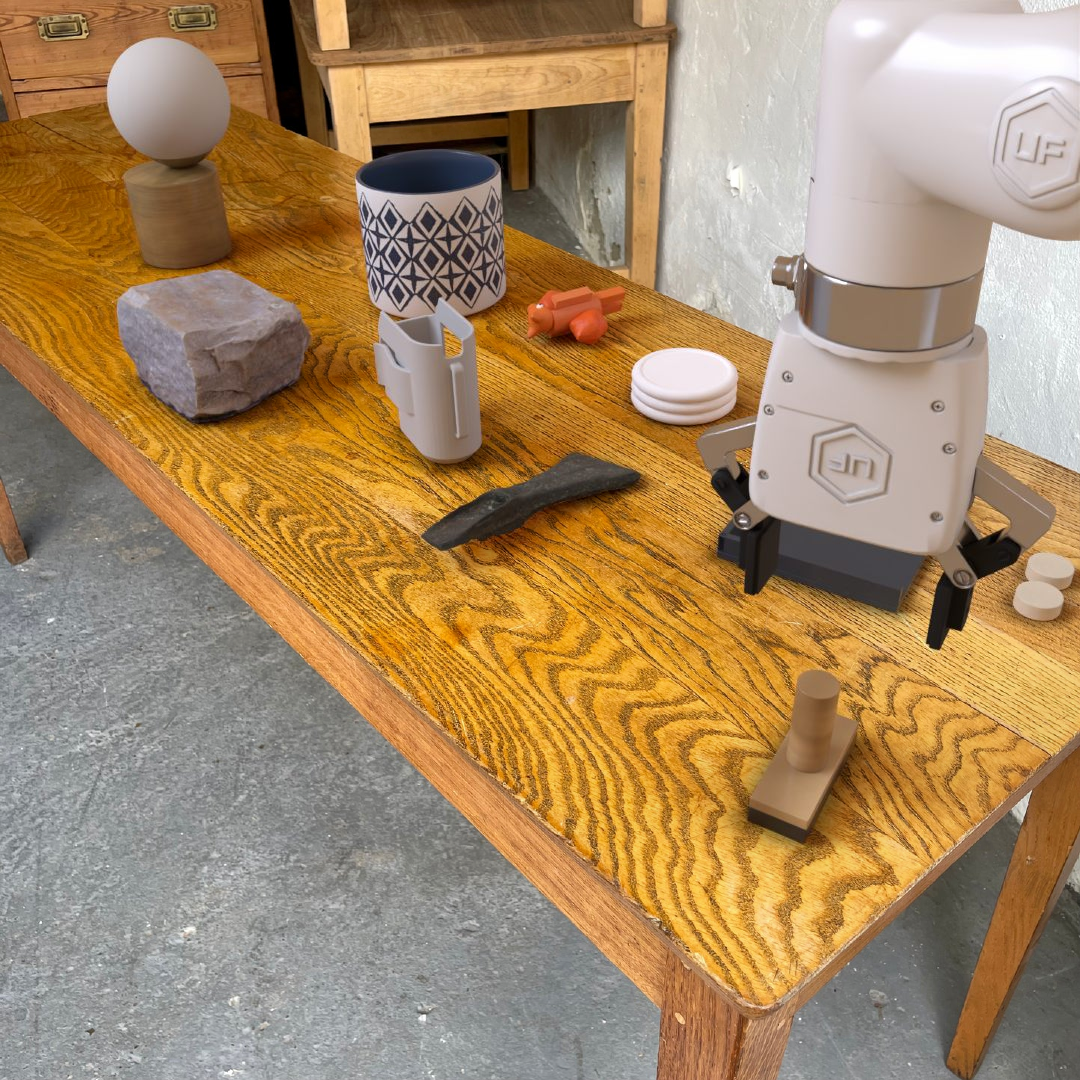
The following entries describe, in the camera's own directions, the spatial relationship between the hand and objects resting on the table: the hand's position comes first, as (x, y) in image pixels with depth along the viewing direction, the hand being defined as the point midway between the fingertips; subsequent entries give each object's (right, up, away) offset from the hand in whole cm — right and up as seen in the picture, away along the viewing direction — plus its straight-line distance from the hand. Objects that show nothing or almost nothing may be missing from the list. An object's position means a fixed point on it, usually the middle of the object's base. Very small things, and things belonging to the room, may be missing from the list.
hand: (847, 606), depth 58 cm
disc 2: (+20, -1, +21) cm, 29 cm away
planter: (-28, +32, +71) cm, 82 cm away
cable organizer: (-26, +13, +44) cm, 52 cm away
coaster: (-2, +17, +48) cm, 51 cm away
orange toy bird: (-12, +25, +60) cm, 67 cm away
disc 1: (+22, +1, +24) cm, 33 cm away
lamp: (-61, +41, +85) cm, 113 cm away
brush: (0, -11, +9) cm, 14 cm away
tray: (+7, +4, +30) cm, 31 cm away
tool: (-18, +6, +34) cm, 38 cm away
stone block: (-48, +20, +54) cm, 75 cm away
